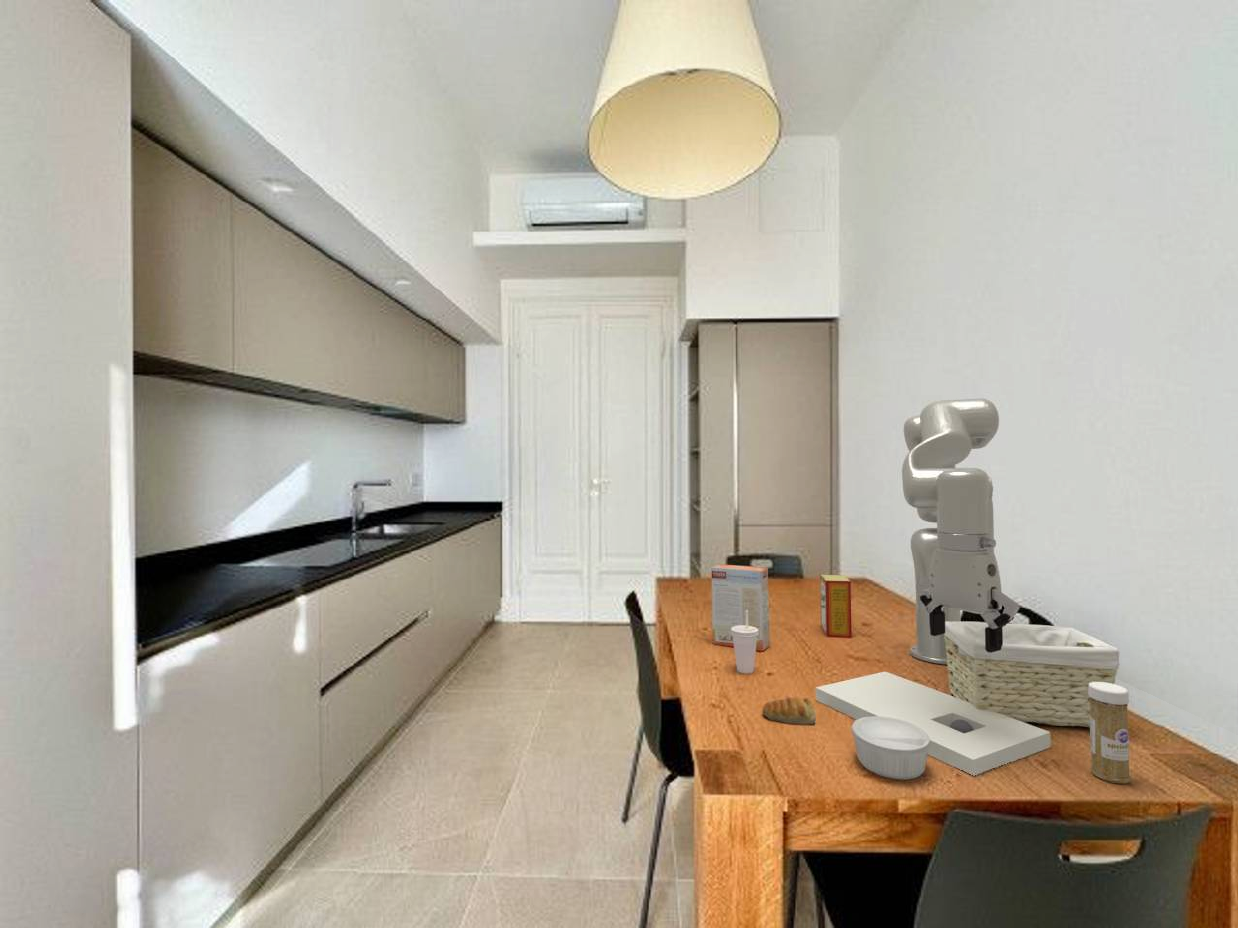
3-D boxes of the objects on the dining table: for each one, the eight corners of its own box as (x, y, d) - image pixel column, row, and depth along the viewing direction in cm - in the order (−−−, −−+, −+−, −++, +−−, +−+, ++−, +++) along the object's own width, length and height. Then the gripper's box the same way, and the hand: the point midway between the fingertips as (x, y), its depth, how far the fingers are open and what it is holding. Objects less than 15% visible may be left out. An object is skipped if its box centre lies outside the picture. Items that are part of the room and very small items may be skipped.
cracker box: (770, 646, 149) (769, 566, 149) (763, 652, 144) (761, 570, 144) (720, 638, 156) (719, 563, 157) (711, 644, 151) (710, 566, 151)
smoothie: (760, 676, 127) (759, 614, 127) (731, 674, 128) (730, 612, 128) (758, 666, 133) (757, 607, 133) (731, 665, 134) (730, 606, 135)
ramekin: (894, 791, 81) (894, 754, 81) (836, 756, 91) (835, 723, 91) (948, 774, 85) (947, 739, 86) (886, 742, 96) (885, 711, 96)
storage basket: (1072, 698, 112) (1069, 623, 113) (1127, 735, 96) (1125, 648, 97) (940, 690, 117) (939, 619, 117) (973, 724, 101) (971, 642, 101)
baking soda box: (821, 627, 166) (820, 573, 166) (844, 628, 164) (843, 573, 165) (826, 637, 156) (825, 579, 157) (851, 638, 155) (850, 579, 155)
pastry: (765, 724, 103) (764, 703, 103) (760, 709, 110) (760, 690, 110) (818, 727, 102) (817, 705, 102) (810, 711, 109) (809, 691, 109)
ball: (965, 712, 97) (982, 731, 94) (954, 723, 99) (971, 741, 96) (952, 719, 95) (969, 738, 93) (941, 729, 97) (958, 749, 95)
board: (815, 699, 113) (815, 687, 114) (885, 682, 122) (885, 671, 122) (973, 776, 85) (973, 759, 85) (1050, 747, 93) (1050, 732, 93)
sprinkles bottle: (1120, 787, 81) (1118, 693, 81) (1083, 772, 85) (1081, 683, 85) (1137, 780, 83) (1135, 688, 83) (1100, 765, 87) (1098, 678, 87)
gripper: (1030, 547, 90) (1032, 654, 90) (930, 535, 106) (932, 626, 106) (1001, 551, 87) (1003, 662, 87) (902, 538, 102) (904, 632, 103)
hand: (964, 642), depth 96 cm, fingers open, 9 cm apart
